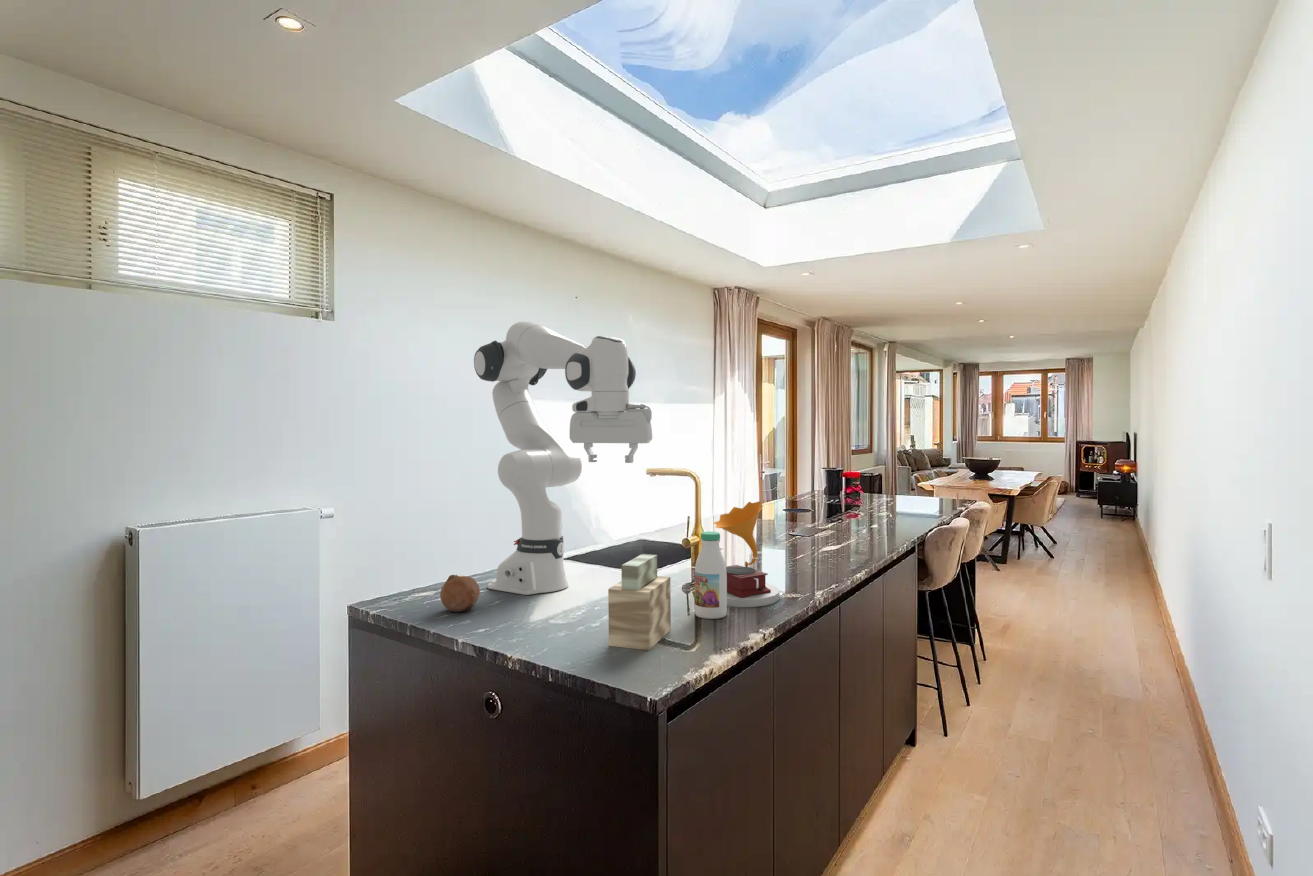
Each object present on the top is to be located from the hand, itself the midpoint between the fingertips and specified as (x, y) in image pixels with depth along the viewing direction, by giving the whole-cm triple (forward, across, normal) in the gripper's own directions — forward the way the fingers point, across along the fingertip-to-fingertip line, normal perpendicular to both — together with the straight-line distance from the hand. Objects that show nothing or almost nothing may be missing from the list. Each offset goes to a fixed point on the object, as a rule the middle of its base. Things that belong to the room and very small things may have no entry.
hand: (610, 462), depth 163 cm
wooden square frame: (+37, -12, +12) cm, 41 cm away
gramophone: (+38, -25, -28) cm, 53 cm away
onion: (+37, +38, +7) cm, 54 cm away
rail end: (+29, -12, +12) cm, 34 cm away
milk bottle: (+37, -22, -9) cm, 44 cm away
